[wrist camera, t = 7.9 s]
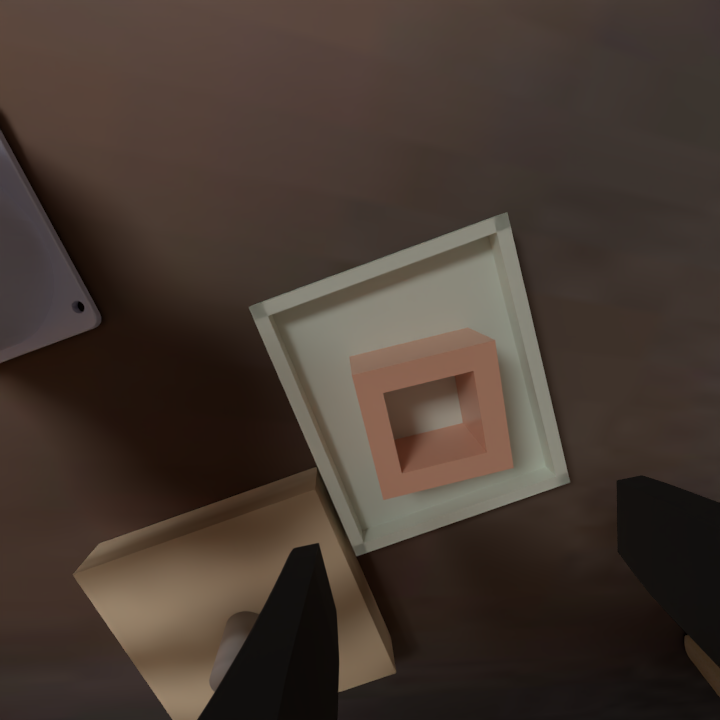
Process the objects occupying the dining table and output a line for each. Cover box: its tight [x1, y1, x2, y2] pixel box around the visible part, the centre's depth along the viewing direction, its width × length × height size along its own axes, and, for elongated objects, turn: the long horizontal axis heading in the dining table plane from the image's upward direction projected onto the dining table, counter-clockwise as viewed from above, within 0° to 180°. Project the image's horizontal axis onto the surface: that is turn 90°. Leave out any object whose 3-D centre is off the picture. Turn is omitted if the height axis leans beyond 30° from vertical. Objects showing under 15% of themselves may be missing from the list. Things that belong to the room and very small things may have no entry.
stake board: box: [73, 467, 396, 720], centre depth 18 cm, size 12×12×4 cm
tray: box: [249, 213, 570, 556], centre depth 18 cm, size 13×11×2 cm
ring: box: [349, 328, 514, 500], centre depth 16 cm, size 6×6×3 cm
